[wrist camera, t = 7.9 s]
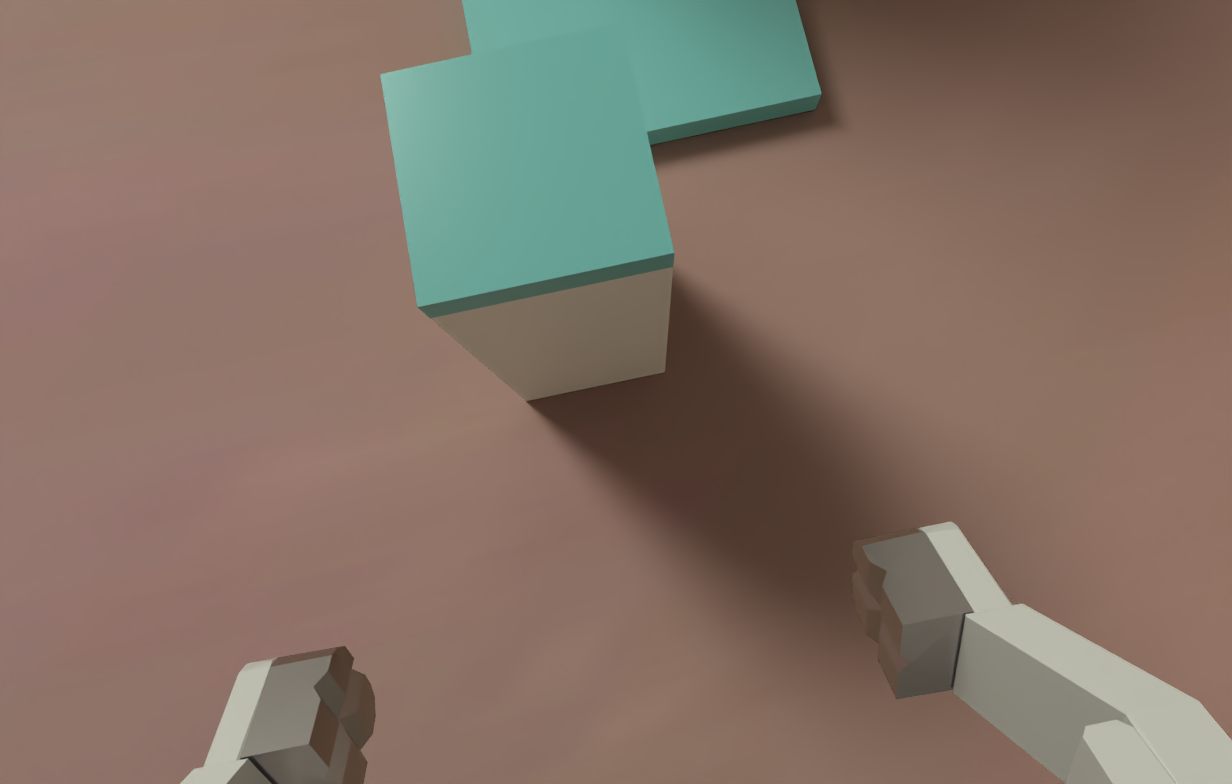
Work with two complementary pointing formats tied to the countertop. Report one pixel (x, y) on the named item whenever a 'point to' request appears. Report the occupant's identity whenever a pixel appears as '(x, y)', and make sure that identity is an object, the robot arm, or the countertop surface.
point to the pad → (679, 54)
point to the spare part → (536, 210)
